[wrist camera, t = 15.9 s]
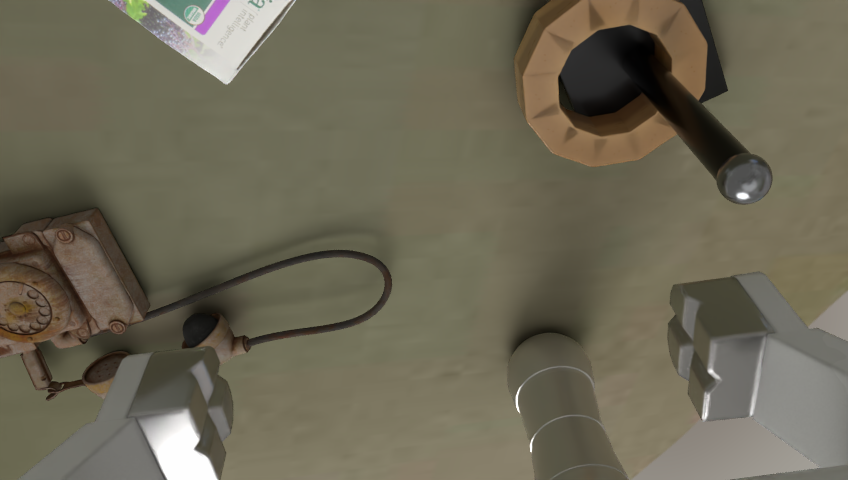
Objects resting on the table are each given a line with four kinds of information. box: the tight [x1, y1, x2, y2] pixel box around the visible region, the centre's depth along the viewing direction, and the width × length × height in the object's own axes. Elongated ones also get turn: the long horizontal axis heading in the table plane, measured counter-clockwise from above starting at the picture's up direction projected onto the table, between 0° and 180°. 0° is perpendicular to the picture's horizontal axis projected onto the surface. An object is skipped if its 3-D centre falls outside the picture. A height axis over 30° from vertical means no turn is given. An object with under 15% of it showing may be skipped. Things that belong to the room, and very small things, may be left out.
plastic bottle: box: [507, 333, 629, 480], centre depth 49 cm, size 6×7×20 cm
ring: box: [514, 0, 708, 167], centre depth 42 cm, size 11×11×3 cm
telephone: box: [0, 208, 392, 401], centre depth 50 cm, size 15×33×4 cm, turn 104°
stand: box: [559, 0, 773, 205], centre depth 37 cm, size 9×9×17 cm
